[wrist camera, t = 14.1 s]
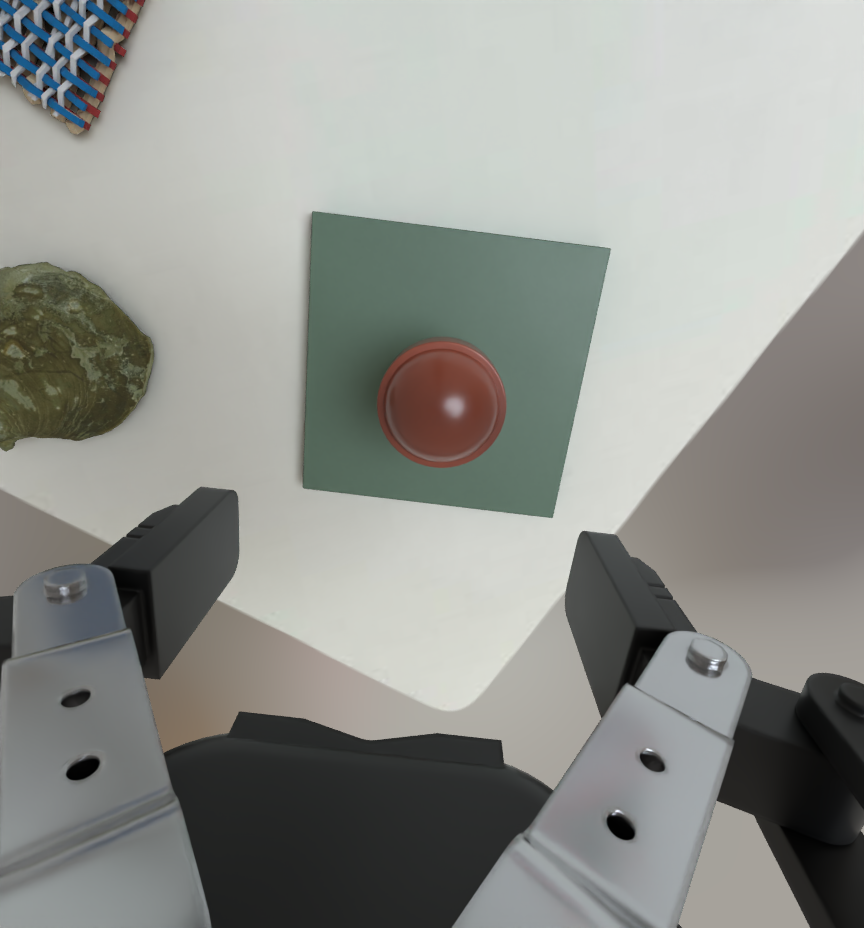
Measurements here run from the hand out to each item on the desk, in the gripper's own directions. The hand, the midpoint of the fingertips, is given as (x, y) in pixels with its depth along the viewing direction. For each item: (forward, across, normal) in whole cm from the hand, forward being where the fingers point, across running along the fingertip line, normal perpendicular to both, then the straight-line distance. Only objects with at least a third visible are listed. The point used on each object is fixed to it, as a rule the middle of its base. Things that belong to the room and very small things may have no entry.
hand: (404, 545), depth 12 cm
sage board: (+21, -1, 0) cm, 21 cm away
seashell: (+21, +22, +2) cm, 31 cm away
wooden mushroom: (+20, -1, 0) cm, 20 cm away
